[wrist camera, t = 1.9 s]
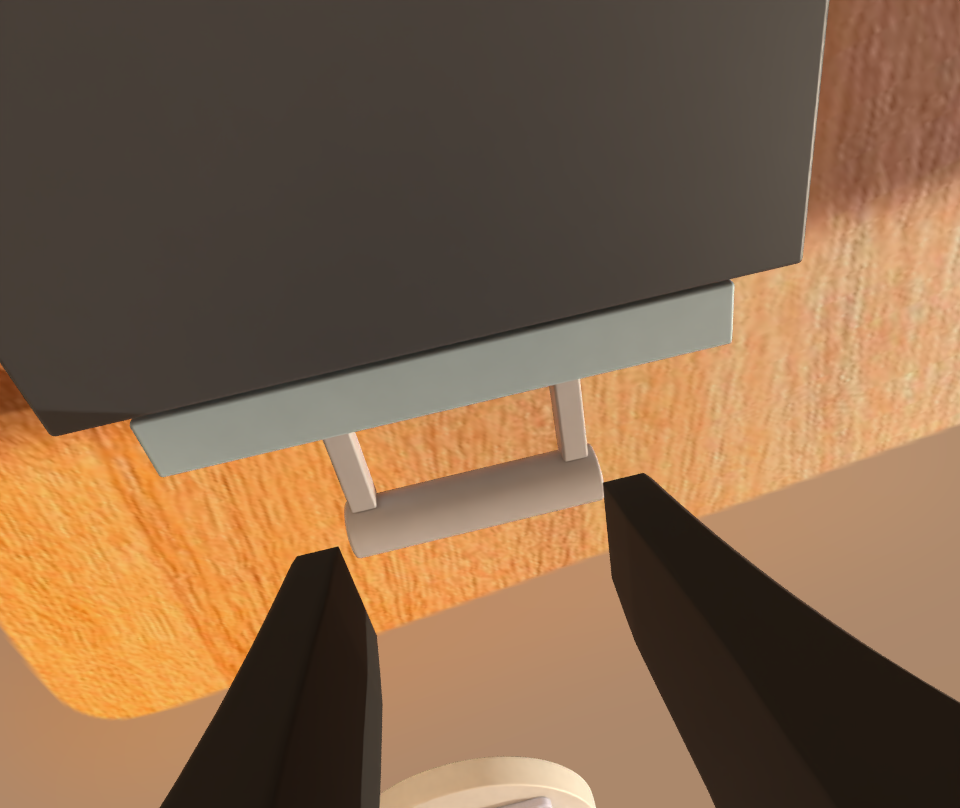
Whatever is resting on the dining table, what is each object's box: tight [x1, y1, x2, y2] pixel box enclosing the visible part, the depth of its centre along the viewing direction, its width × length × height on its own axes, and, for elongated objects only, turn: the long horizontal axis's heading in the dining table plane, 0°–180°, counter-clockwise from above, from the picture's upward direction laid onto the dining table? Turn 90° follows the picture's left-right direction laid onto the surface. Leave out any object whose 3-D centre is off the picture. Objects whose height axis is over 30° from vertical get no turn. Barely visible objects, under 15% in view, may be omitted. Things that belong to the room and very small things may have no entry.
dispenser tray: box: [130, 279, 734, 558], centre depth 11 cm, size 17×10×6 cm, turn 10°
